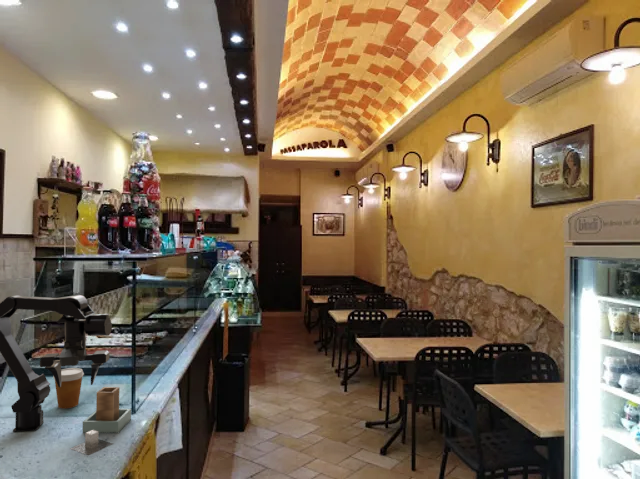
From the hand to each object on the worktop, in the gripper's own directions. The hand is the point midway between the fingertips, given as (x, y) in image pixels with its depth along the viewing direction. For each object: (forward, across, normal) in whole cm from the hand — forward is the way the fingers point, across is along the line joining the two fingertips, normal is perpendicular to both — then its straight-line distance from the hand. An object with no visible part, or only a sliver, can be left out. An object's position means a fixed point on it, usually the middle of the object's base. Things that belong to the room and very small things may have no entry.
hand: (76, 385), depth 146 cm
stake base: (+13, +8, -16) cm, 22 cm away
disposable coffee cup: (+13, -8, +20) cm, 25 cm away
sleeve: (+12, +10, -2) cm, 16 cm away
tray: (+13, +10, -2) cm, 17 cm away
